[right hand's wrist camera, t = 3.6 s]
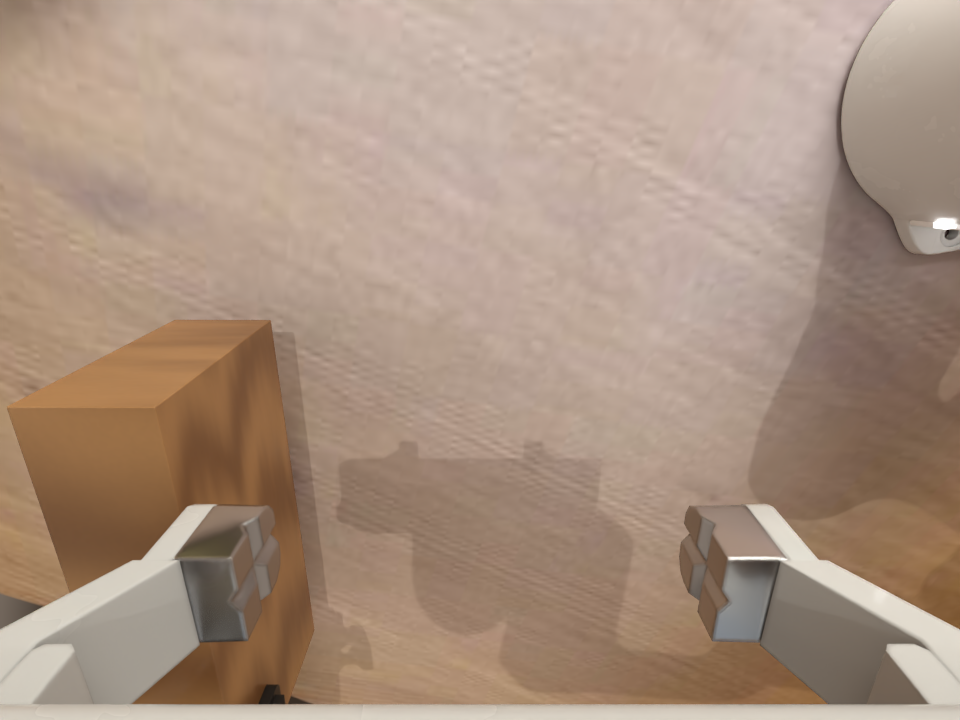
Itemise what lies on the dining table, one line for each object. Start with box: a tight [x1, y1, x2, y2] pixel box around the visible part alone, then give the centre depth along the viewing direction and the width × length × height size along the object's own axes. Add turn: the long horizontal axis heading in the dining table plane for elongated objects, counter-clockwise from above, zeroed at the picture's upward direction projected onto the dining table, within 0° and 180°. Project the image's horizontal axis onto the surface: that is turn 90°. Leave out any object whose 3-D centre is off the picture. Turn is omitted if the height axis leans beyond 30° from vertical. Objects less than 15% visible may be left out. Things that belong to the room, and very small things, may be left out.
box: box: [7, 320, 314, 704], centre depth 31 cm, size 25×6×12 cm, turn 0°
